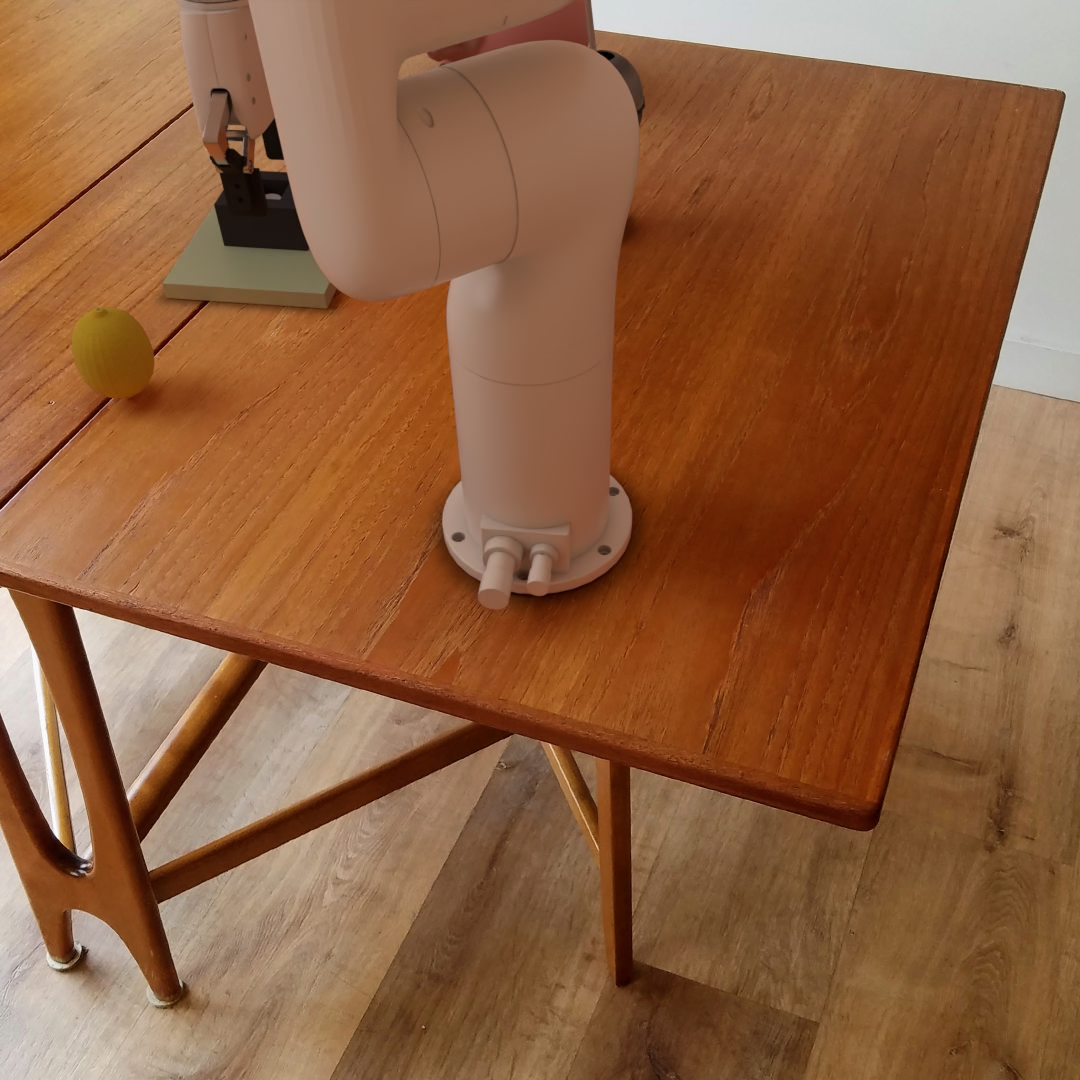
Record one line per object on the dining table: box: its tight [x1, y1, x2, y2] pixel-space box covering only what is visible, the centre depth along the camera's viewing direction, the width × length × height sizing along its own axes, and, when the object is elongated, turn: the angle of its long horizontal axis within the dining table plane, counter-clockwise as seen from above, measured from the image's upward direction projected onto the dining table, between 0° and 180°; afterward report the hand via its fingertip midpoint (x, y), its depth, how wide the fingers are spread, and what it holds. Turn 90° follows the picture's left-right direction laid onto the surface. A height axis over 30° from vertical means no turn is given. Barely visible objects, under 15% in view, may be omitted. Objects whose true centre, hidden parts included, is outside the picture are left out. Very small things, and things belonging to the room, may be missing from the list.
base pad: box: [161, 194, 338, 310], centre depth 101 cm, size 18×14×4 cm
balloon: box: [426, 0, 589, 65], centre depth 114 cm, size 15×20×15 cm
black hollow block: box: [213, 170, 309, 251], centre depth 100 cm, size 6×8×4 cm
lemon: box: [71, 306, 155, 400], centre depth 85 cm, size 6×6×8 cm
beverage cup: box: [585, 0, 646, 129], centre depth 96 cm, size 7×7×20 cm
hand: (268, 185), depth 98 cm, fingers open, 9 cm apart
